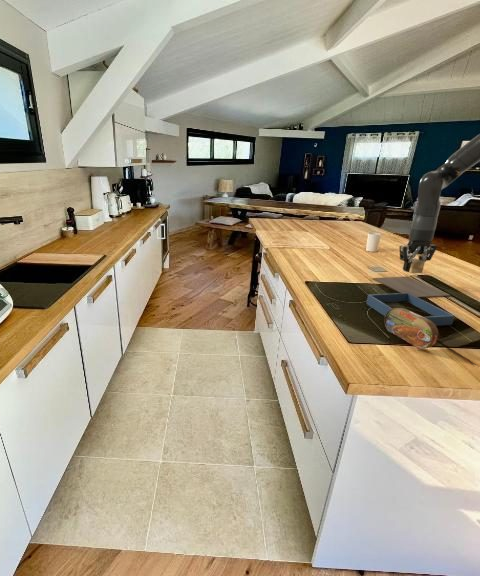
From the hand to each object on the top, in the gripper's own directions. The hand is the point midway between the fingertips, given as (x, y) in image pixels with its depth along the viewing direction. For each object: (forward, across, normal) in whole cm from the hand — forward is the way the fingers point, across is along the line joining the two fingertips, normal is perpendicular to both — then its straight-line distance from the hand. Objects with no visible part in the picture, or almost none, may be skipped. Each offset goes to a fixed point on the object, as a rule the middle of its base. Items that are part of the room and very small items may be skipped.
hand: (412, 270), depth 123 cm
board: (+8, 0, 0) cm, 8 cm away
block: (0, 0, 0) cm, 0 cm away
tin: (+8, -29, -37) cm, 48 cm away
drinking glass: (+9, -31, +37) cm, 49 cm away
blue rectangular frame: (+8, -18, -22) cm, 29 cm away
